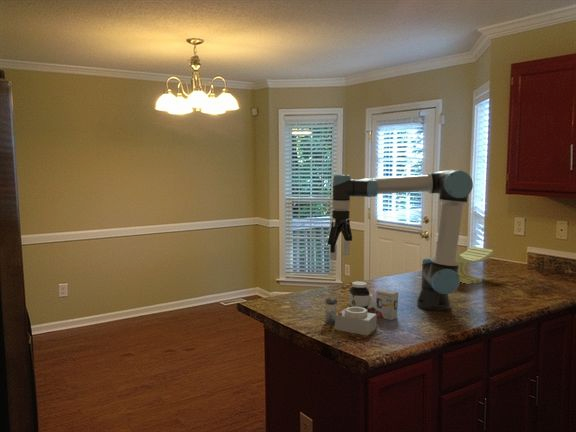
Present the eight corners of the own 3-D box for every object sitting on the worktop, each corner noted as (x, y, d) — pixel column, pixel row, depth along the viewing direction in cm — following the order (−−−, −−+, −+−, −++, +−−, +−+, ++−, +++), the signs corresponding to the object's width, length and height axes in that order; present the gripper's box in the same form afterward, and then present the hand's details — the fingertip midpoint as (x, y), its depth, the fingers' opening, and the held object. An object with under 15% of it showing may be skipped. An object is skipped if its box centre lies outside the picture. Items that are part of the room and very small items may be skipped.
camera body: (376, 328, 200) (376, 309, 199) (367, 335, 192) (368, 315, 191) (344, 322, 207) (344, 304, 206) (334, 329, 198) (335, 310, 198)
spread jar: (346, 305, 232) (346, 281, 231) (366, 302, 237) (367, 279, 236) (359, 312, 222) (360, 287, 220) (380, 309, 226) (381, 285, 225)
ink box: (374, 316, 215) (375, 290, 214) (380, 314, 219) (381, 288, 218) (392, 321, 210) (393, 294, 209) (397, 318, 214) (398, 291, 212)
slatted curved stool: (468, 274, 299) (470, 245, 297) (491, 280, 286) (493, 249, 284) (434, 280, 283) (436, 250, 281) (457, 286, 270) (459, 254, 268)
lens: (338, 322, 208) (338, 299, 207) (333, 325, 204) (334, 301, 203) (328, 320, 210) (328, 297, 209) (323, 323, 206) (323, 300, 205)
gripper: (345, 207, 228) (344, 252, 231) (320, 211, 207) (319, 260, 209) (360, 208, 224) (359, 253, 227) (336, 212, 203) (335, 262, 206)
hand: (340, 257), depth 218 cm, fingers open, 13 cm apart
